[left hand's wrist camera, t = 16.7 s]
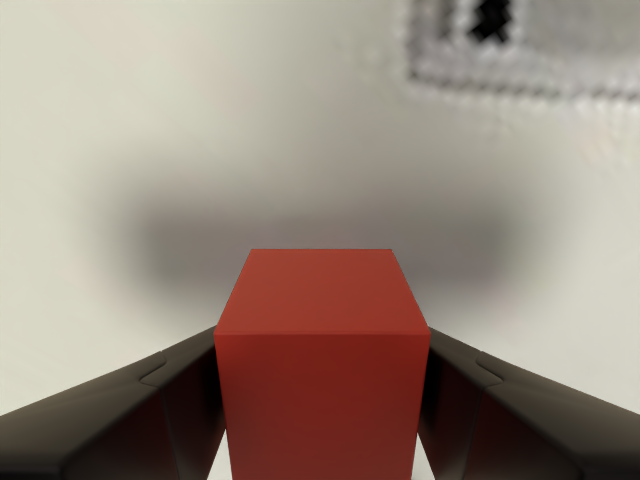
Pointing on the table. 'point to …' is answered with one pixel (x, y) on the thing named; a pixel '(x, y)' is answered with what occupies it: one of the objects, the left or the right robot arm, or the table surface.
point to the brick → (321, 366)
